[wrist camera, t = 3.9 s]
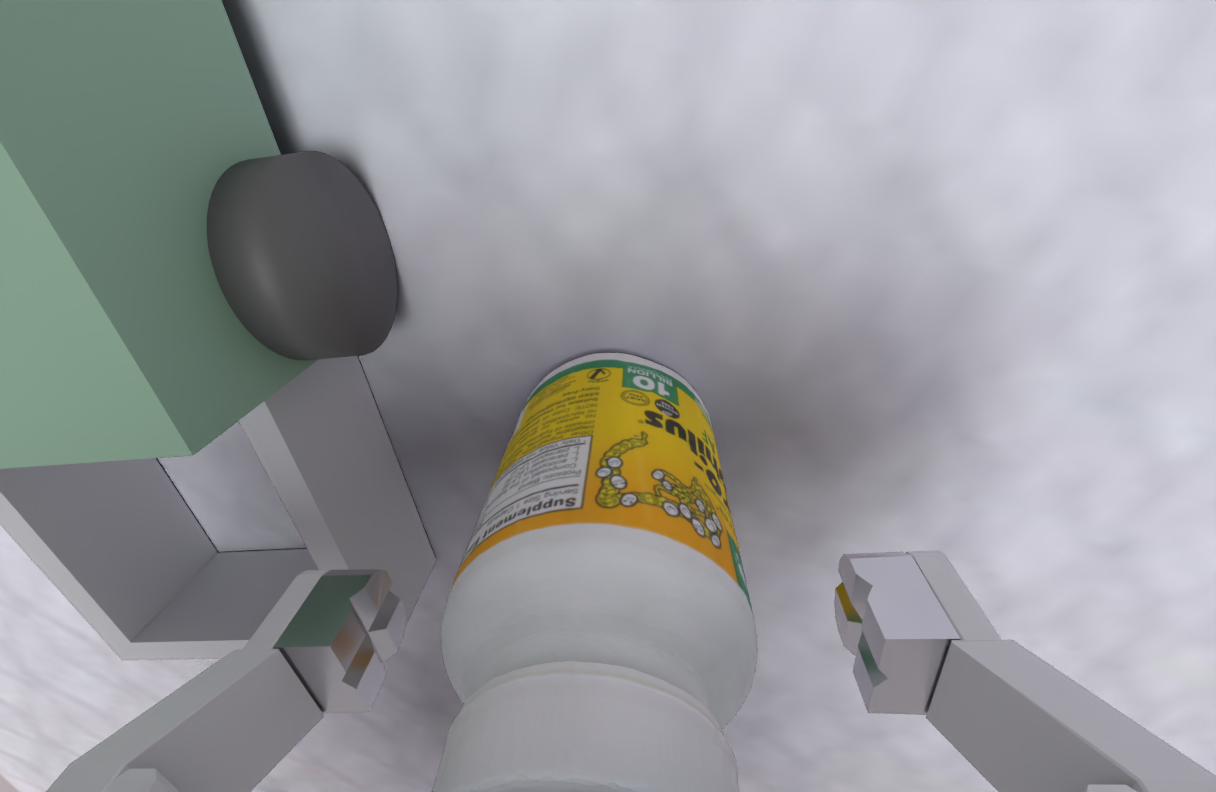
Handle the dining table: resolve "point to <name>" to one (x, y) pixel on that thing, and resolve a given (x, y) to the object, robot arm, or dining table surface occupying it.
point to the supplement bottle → (600, 597)
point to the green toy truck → (181, 326)
